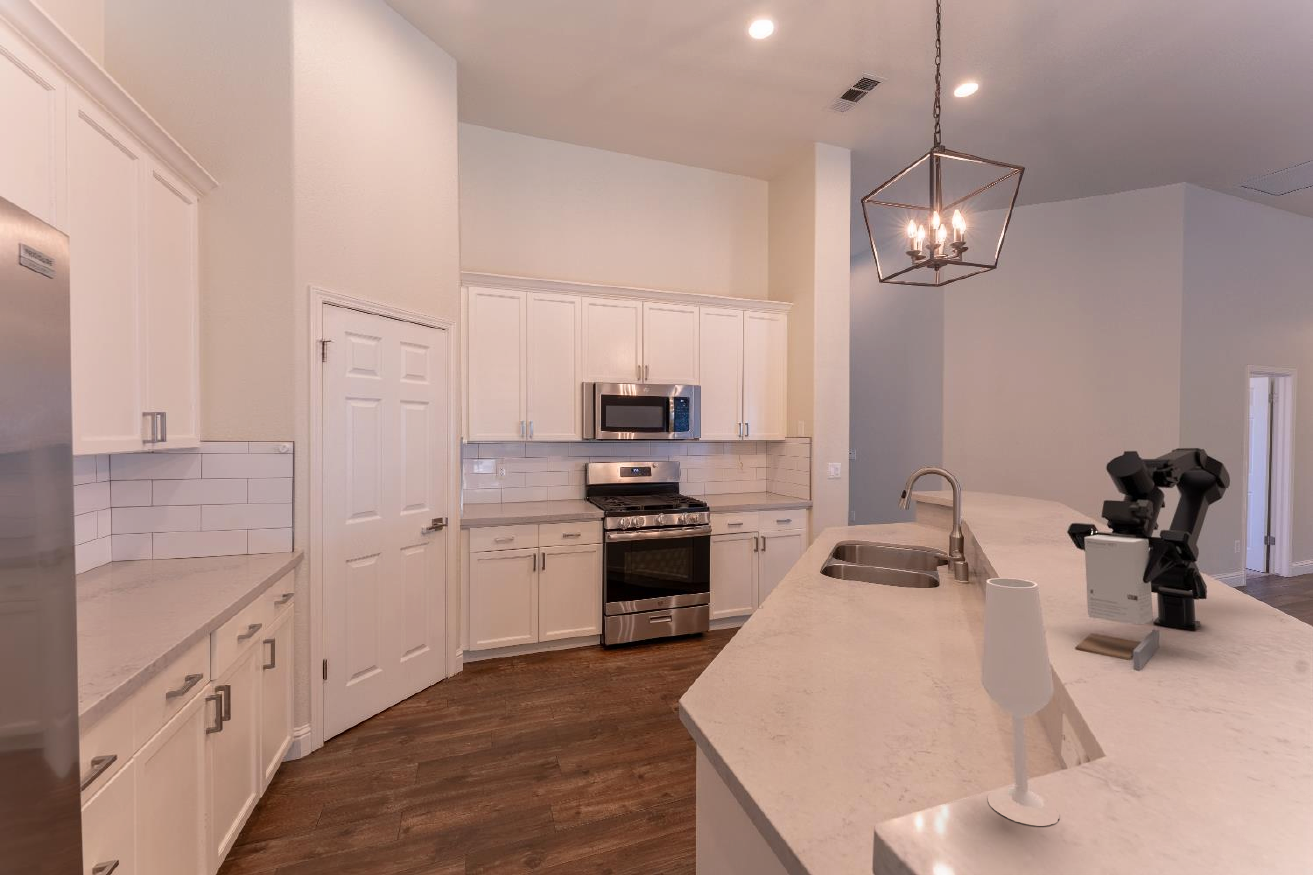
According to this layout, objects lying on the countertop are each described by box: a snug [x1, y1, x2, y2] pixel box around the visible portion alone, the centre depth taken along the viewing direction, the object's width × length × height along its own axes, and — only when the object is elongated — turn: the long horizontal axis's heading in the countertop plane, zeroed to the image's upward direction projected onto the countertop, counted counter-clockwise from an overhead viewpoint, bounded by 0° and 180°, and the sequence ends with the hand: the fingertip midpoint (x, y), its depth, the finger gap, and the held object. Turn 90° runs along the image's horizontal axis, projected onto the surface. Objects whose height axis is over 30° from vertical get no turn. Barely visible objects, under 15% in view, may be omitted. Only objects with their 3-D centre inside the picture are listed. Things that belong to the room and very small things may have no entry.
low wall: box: [1132, 628, 1161, 671], centre depth 104 cm, size 16×1×3 cm, turn 130°
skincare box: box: [1084, 535, 1154, 626], centre depth 108 cm, size 8×6×15 cm
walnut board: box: [1074, 633, 1142, 661], centre depth 109 cm, size 11×8×1 cm
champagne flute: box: [980, 577, 1055, 808], centre depth 64 cm, size 7×7×24 cm
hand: (1116, 577), depth 108 cm, fingers closed on skincare box, 8 cm apart
